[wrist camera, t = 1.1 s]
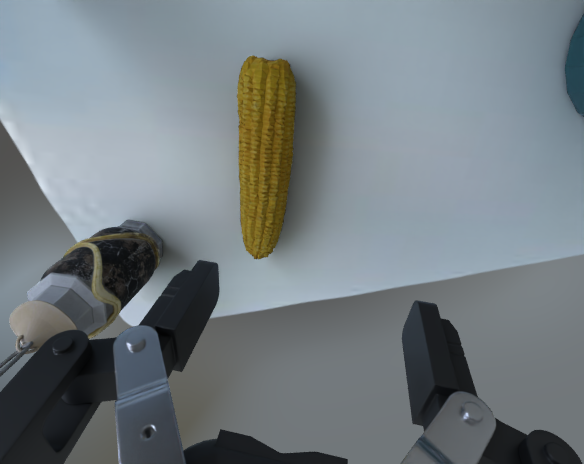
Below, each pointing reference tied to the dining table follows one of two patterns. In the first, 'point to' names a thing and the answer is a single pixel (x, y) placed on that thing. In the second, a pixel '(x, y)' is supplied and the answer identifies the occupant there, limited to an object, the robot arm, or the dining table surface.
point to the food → (265, 150)
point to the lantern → (87, 286)
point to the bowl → (576, 68)
